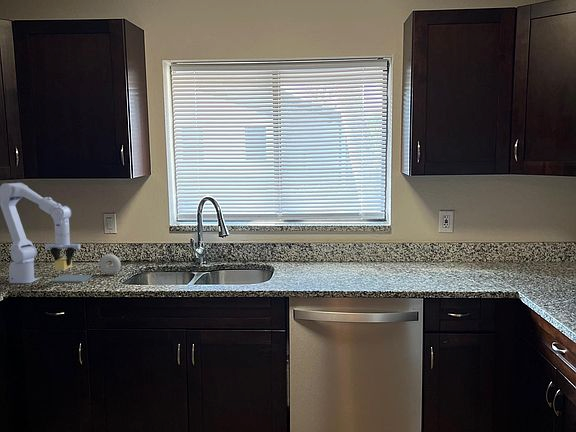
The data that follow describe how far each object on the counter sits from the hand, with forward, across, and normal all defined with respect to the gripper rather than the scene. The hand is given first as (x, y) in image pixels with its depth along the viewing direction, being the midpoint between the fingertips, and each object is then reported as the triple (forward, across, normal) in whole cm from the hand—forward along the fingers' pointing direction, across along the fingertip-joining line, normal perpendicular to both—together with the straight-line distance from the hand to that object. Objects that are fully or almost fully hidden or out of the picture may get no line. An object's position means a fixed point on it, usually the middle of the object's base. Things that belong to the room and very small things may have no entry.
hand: (63, 265), depth 223 cm
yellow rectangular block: (+1, 0, 0) cm, 1 cm away
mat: (+8, 0, +8) cm, 12 cm away
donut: (+9, +14, +18) cm, 24 cm away
